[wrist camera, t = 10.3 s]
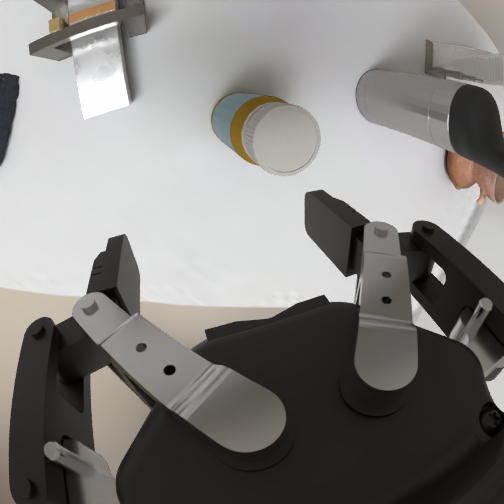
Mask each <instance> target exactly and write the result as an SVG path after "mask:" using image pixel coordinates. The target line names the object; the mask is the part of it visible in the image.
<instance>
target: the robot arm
mask: <svg viewBox="0 0 504 504" xmlns="http://www.w3.org/2000/svg"><path fill="white" fill-rule="evenodd" d="M356 99H357V104H358V108H359V110H360V112H361V114H362V115H363V116H364V118H366V119H367V120H368V121H370V122H372V123H375V124H378V125H381V126H384V127H387V128H390V129H393V130H396V131H399V132H402V133H405V134H408V135H410V136H413V137H416V138H418V139H421V140H424V141H426V142H429V143H431V144H434V145H436V146H438V147H441V148H444V149H446V150H448V151H451V152H453V153H455V154H457V155H459V156H462V157H464V158H466V159H468V160H471V161H473V162H475V163H477V164H479V165H481V166H483V167H485V168H487V169H489V170H491V171H493V172H494V173H496V174H498V175H499V176H501V177H503V178H504V137H503V133H502V127H501V121H500V115H499V110H498V107H497V104H496V102H495V100H494V98H493V96H492V95H491V94H490V93H489V92H488V91H487V90H485V89H483V88H480V87H477V86H474V85H469V84H466V83H461V82H457V81H452V80H447V79H442V78H437V77H431V76H426V75H419V74H413V73H405V72H397V71H388V70H377V69H375V70H370V71H368V72H366V73H365V74H364V75H363V76H362V78H361V79H360V81H359V83H358V86H357V90H356ZM305 228H306V231H307V234H308V235H309V237H310V238H311V239H312V240H313V241H314V242H315V243H316V244H317V245H318V247H319V248H320V249H321V250H322V251H323V252H324V253H325V254H326V255H327V257H328V258H329V259H330V260H331V261H332V262H333V263H334V264H335V266H336V267H337V268H338V269H339V270H340V271H341V272H342V274H343V275H344V276H345V277H348V276H351V275H354V274H357V281H356V289H355V297H354V304H353V303H347V302H329V301H328V299H327V298H326V297H325V295H322V296H318V297H315V298H312V299H309V300H306V301H303V302H300V303H297V304H295V305H293V306H292V307H290V308H288V309H286V310H285V311H283V312H281V313H279V314H277V315H276V316H274V317H272V318H269V319H261V320H251V321H250V320H249V321H237V322H233V323H229V324H225V325H221V326H218V327H214V328H210V329H207V330H205V333H206V337H207V339H206V340H204V341H203V342H201V343H199V344H198V345H196V346H195V347H193V348H192V349H191V350H190V349H188V348H187V347H185V346H184V345H182V344H181V343H179V342H178V341H176V340H175V339H173V338H172V337H170V336H169V335H168V334H166V333H164V332H163V331H162V330H161V329H159V328H158V327H156V326H155V325H153V324H152V323H151V322H149V321H148V320H146V319H145V318H144V317H142V316H141V315H140V274H139V269H138V266H137V263H136V260H135V257H134V255H133V252H132V249H131V246H130V244H129V241H128V238H127V236H126V235H125V234H123V235H119V236H116V237H112V238H109V239H108V243H107V247H106V251H104V252H100V254H99V255H98V256H97V258H96V259H95V260H94V264H93V267H92V269H93V270H92V272H91V276H90V280H89V284H88V289H87V293H86V295H85V296H83V297H82V298H81V299H79V300H78V301H77V302H76V304H75V305H74V307H73V310H72V315H73V316H72V317H70V318H69V319H67V320H65V321H63V322H61V323H59V324H57V325H55V323H54V322H53V321H52V319H51V318H48V317H42V318H39V319H38V320H36V321H34V322H33V323H32V324H31V325H30V326H29V327H28V328H27V330H26V332H25V335H24V339H23V343H22V347H21V352H20V357H19V362H18V367H17V373H16V379H15V385H14V392H13V399H12V408H11V419H10V433H9V482H10V491H11V494H12V497H13V499H14V501H15V502H16V504H504V412H502V411H501V410H500V409H499V408H498V407H497V406H496V404H495V403H494V401H493V399H492V397H491V395H490V392H489V390H488V387H487V384H486V381H491V380H493V379H495V378H496V376H497V375H498V374H499V373H500V372H501V370H502V369H503V368H504V283H503V282H502V281H501V280H500V279H499V278H498V277H497V276H496V275H495V274H494V273H493V272H492V271H490V269H488V268H487V267H486V266H485V265H484V264H483V263H482V262H481V261H480V260H478V259H477V258H476V257H475V256H474V255H473V254H471V253H470V252H469V251H468V250H467V249H466V248H465V247H463V246H462V245H461V244H460V243H459V242H457V241H456V240H455V239H454V238H452V237H451V236H450V235H449V234H447V233H446V232H445V231H444V230H442V229H441V228H440V227H439V226H437V225H436V224H434V223H431V222H428V221H416V222H414V223H413V226H412V231H411V232H404V233H398V231H397V229H396V228H395V227H394V226H392V225H390V224H388V223H385V222H378V221H376V222H370V221H369V220H368V219H366V218H365V217H364V216H362V215H361V214H360V213H358V212H356V210H355V209H353V208H352V207H350V206H349V205H348V204H347V203H345V202H344V201H341V200H339V199H336V198H333V197H332V196H330V195H329V194H328V193H326V192H325V191H324V190H317V191H311V192H307V193H306V194H305ZM434 262H436V263H437V264H438V265H439V266H440V267H441V268H442V269H443V270H444V272H445V275H446V281H445V284H444V285H443V284H442V283H441V282H440V281H439V280H438V279H437V278H436V277H435V276H434V275H433V274H432V273H431V271H432V268H433V265H434ZM411 294H412V295H413V297H414V298H415V299H416V300H417V301H418V302H419V303H420V305H421V306H422V307H423V308H424V309H425V311H426V312H427V313H428V314H429V315H430V316H431V318H432V319H433V320H434V321H435V322H436V324H437V325H438V326H439V327H440V328H441V330H442V331H443V332H444V334H445V335H446V336H447V337H445V336H442V335H440V334H437V333H434V332H431V331H429V330H426V329H423V328H420V327H418V326H415V325H414V324H413V321H412V305H411ZM105 366H108V367H109V368H110V369H111V370H112V371H113V372H114V373H115V374H116V375H117V376H118V377H119V378H120V379H121V380H122V381H123V382H124V383H125V384H126V385H127V386H128V387H129V388H130V389H131V390H132V391H133V392H134V393H135V394H136V395H137V396H138V397H139V398H140V399H141V400H142V401H143V402H144V403H145V404H146V405H147V406H148V407H149V408H150V409H151V412H150V413H149V415H148V417H147V419H146V420H145V422H144V424H143V425H142V427H141V429H140V431H139V432H138V434H137V436H136V438H135V439H134V441H133V443H132V444H131V446H130V448H129V450H128V452H127V453H126V455H125V457H124V458H123V460H122V462H121V464H120V466H119V468H118V471H117V475H116V479H115V478H114V477H113V475H112V473H111V471H110V468H109V465H108V463H107V461H106V460H105V459H104V458H103V457H102V456H101V455H99V454H98V453H96V452H95V449H94V439H93V428H92V414H91V395H90V394H91V393H90V374H91V373H93V372H95V371H97V370H99V369H101V368H103V367H105Z"/></svg>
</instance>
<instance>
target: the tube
mask: <svg viewBox="0 0 504 504" xmlns="http://www.w3.org/2000/svg"><path fill="white" fill-rule="evenodd" d="M116 10H119V5H118V0H68V12H69V15H68V17H69V25H70V26H71V25H73V24H76V23H78V22H81V21H84V20H87V19H90V18H93V17H96V16H99V15H102V14H105V13H109V12H112V11H116ZM71 45H72V53H73V60H74V67H75V74H76V80H77V85H78V91H79V96H80V101H81V106H82V111H83V116H84V119H87V118H89V117H92V116H95V115H98V114H101V113H104V112H107V111H110V110H114V109H117V108H120V107H123V106H127V105H130V104H131V103H132V99H131V93H130V88H129V82H128V76H127V70H126V63H125V56H124V49H123V42H122V34H121V25H116V26H112V27H109V28H106V29H103V30H99V31H96V32H93V33H90V34H87V35H85V36H82V37H79V38H76V39H74V40H71Z"/></svg>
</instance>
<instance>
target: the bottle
mask: <svg viewBox="0 0 504 504" xmlns="http://www.w3.org/2000/svg"><path fill="white" fill-rule="evenodd" d="M211 123H212V128H213V131H214V133H215V134H216V136H217V137H218V138H219V139H220V140H221V141H222V142H223V143H225V144H226V145H227V146H228V147H230V148H231V149H232V150H233V151H234V152H236V153H237V154H238V155H239V156H241V157H242V158H243V159H244V160H246V161H247V162H249V163H252V164H255V165H258V166H260V167H261V168H263V169H264V170H265V171H267V172H269V173H271V174H274V175H278V176H290V175H294V174H297V173H299V172H301V171H303V170H304V169H306V168H307V167H308V166H309V165H310V164H311V163H312V162H313V160H314V159H315V157H316V155H317V153H318V150H319V147H320V141H321V136H320V129H319V126H318V124H317V122H316V120H315V119H314V117H313V116H312V115H311V114H310V113H309V112H308V111H307V110H305V109H303V108H301V107H299V106H296V105H292V104H288V103H287V102H285V101H283V100H281V99H279V98H276V97H272V96H264V95H256V94H247V93H235V94H231V95H228V96H226V97H225V98H223V99H222V100H220V102H219V103H218V104H217V105H216V106H215V108H214V111H213V113H212V121H211Z"/></svg>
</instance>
